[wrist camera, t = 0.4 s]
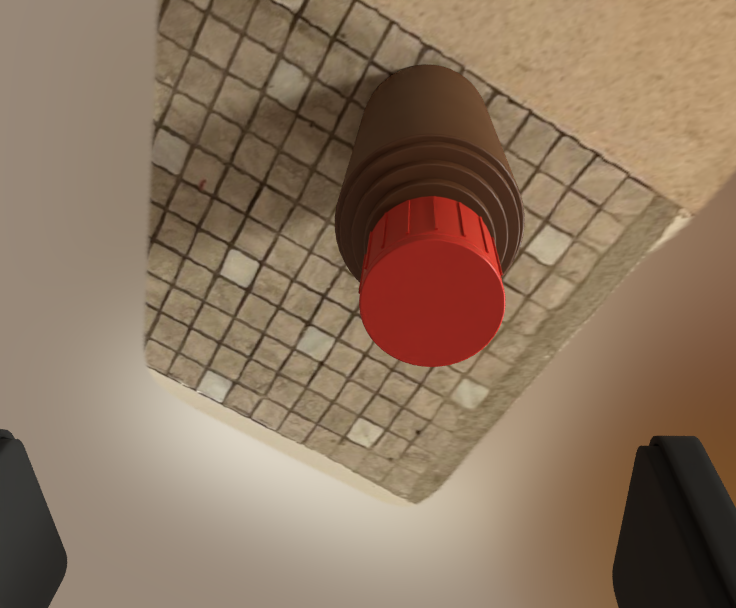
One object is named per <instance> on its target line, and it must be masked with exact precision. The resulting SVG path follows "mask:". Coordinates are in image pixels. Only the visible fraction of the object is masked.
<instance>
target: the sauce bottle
mask: <svg viewBox="0 0 736 608" xmlns="http://www.w3.org/2000/svg"><path fill="white" fill-rule="evenodd" d="M429 196H436V197H443V198H448V199H451V200H455V201H457V202H461V203H462V204H463V205H465V206H467V207H468V208H470V209H471V210H472V211H474V212H475V213H476V214H477V215H478V216H479V217H480V216H481V218H482V221H483V222H484V224H485V225H486V227H487V229H488V231H489V233H490V236H491V237H493V238H494V242H495V246H496V250H497V254H498V258H499V262H500V266H501V270H502V274H503V275H502V276H501V278H502V277H503V276H504V274H505V273H506V272H507V271H508V270H509V268H510V266H511V265H512V263H513V261H514V260H515V258H516V256H517V253H518V251H519V249H520V245H521V242H522V238H523V232H524V208H523V202H522V198H521V195H520V192H519V189H518V186H517V184H516V181H515V179H514V176H513V174H512V171H511V169H510V166H509V164H508V161H507V159H506V156H505V154H504V151H503V149H502V146H501V144H500V141H499V139H498V136H497V134H496V131H495V129H494V126H493V124H492V121H491V119H490V116H489V113H488V111H487V108H486V106H485V104H484V101H483V99H482V97H481V95H480V94H479V92H478V91H477V89H476V88H475V87H474V86H473V85H472V83H471V82H469V81H468V80H467V79H466V78H465V77H463V76H462V75H460V74H459V73H457V72H455V71H453V70H451V69H448V68H445V67H442V66H437V65H416V66H412V67H408V68H405V69H402V70H400V71H398V72H396V73H394V74H392V75H391V76H390V77H388V78H387V79H386V80H384V81H383V82H382V83H381V84H380V85H379V86H378V87H377V89H376V90H375V91H374V92H373V94H372V96H371V97H370V99H369V101H368V103H367V105H366V108H365V111H364V114H363V118H362V121H361V124H360V128H359V131H358V135H357V138H356V141H355V145H354V148H353V151H352V155H351V158H350V162H349V165H348V168H347V172H346V175H345V179H344V182H343V185H342V189H341V192H340V195H339V199H338V202H337V206H336V213H335V233H336V240H337V244H338V247H339V251H340V253H341V255H342V258H343V260H344V262H345V264H346V265H347V267H348V269H349V270H350V272H351V273H352V274H353V275H354V277H355V278H356V279H357V280H358V281H359V282H360V280H361V273H362V267H363V261H364V255H365V254H366V253H367V247H368V241H369V235H370V232H372V231H373V229H374V227H375V226H376V224H377V223H378V221H379V220H380V219H381V218H382V217H383V216H384V214H385V213H386V212H388V211H389V210H391V209H392V208H394V207H395V206H397V205H399V204H401V203H403V202H405V201H407V200H411V199H415V198H419V197H429Z"/></svg>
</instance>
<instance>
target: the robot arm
mask: <svg viewBox="0 0 736 608" xmlns="http://www.w3.org/2000/svg"><path fill="white" fill-rule="evenodd" d="M66 568H67V555H66V552H65V549H64V547H63V544H62V542H61V539H60V536H59V534H58V532H57V529H56V526H55V524H54V521H53V519H52V516H51V514H50V511H49V508H48V506H47V503H46V501H45V498H44V496H43V493H42V491H41V489H40V486H39V483H38V481H37V478H36V476H35V473H34V471H33V468H32V465H31V463H30V460H29V458H28V455H27V453H26V451H25V448H24V445H23V444H22V442H21V441H20V440H19V439H15V438H14V436H13V435H12V433H11V432H9V431H8V430H3V429H0V608H48V607H49V605H50V603H51V601H52V599H53V597H54V595H55V593H56V592H57V589H58V587H59V586H60V584H61V582H62V580H63V578H64V576H65V572H66ZM612 577H613V586H614V592H615V596H616V600H617V603H618V607H619V608H736V508H735V506H734V504H733V502H732V500H731V498H730V497H729V494H728V492H727V490H726V489H725V487H724V485H723V483H722V481H721V479H720V477H719V475H718V473H717V471H716V470H715V468H714V466H713V464H712V462H711V460H710V458H709V456H708V454H707V453H706V451H705V449H704V447H703V445H702V443H701V442H700V440H699V439H698V438H697V437H695V436H653V438H652V439H651V440H650V444H649V446H639V448H638V450H637V452H636V457H635V462H634V467H633V472H632V477H631V482H630V486H629V491H628V496H627V501H626V506H625V511H624V516H623V521H622V526H621V530H620V535H619V540H618V546H617V550H616V555H615V560H614V564H613V576H612Z"/></svg>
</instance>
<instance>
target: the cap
mask: <svg viewBox="0 0 736 608" xmlns="http://www.w3.org/2000/svg"><path fill="white" fill-rule="evenodd" d="M502 275H503V274H502V270H501V266H500V262H499V258H498V254H497V250H496V246H495V242H494V238H493V237H491V236H490V233H489V231H488V229H487V227H486V225H485V224H484V222H483V221H482V218H481V216H480V217H479V216H478V215H477V214H476V213H475V212H474V211H472V210H471V209H470V208H468V207H467V206H465V205H463V204H462V203H461V202H457V201H455V200H451V199H448V198H443V197H436V196H429V197H419V198H415V199H411V200H407V201H405V202H403V203H401V204H399V205H397V206H395V207H394V208H392V209H391V210H389V211H388V212H386V213H385V214H384V216H383V217H382V218H381V219H380V220H379V221H378V223H377V224H376V226H375V227H374V229H373V231H372V232H370V235H369V241H368V247H367V253H366V254H365V255H364V261H363V267H362V273H361V280H360V286H359V294H360V298H359V308H360V315H361V319H362V322H363V325H364V327H365V329H366V331H367V333H368V334H369V336H370V337H371V339H372V340H373V341H374V342H375V343H376V344H377V345H378V346H379V347H380V348H381V349H382V350H383V351H385V352H386V353H387V354H389V355H390V356H392V357H394V358H396V359H398V360H400V361H403V362H405V363H409V364H412V365H417V366H425V367H438V366H446V365H451V364H454V363H458V362H461V361H463V360H465V359H468V358H469V357H471V356H473V355H475V354H476V353H478V352H479V351H480V350H482V349H483V348H484V347H485V346H486V345H487V344H488V343H489V342H490V341H491V340H492V338H493V337H494V336H495V334H496V332H497V331H498V329H499V327H500V325H501V323H502V320H503V316H504V312H505V292H504V287H503V283H502V279H501V276H502Z"/></svg>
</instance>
